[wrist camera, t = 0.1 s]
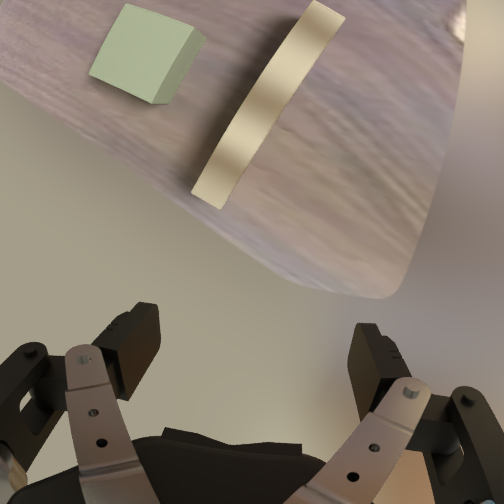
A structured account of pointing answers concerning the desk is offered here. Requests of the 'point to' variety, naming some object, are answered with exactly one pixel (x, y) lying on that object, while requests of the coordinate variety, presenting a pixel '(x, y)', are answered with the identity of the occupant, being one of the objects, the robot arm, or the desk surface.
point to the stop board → (266, 102)
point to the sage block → (147, 54)
